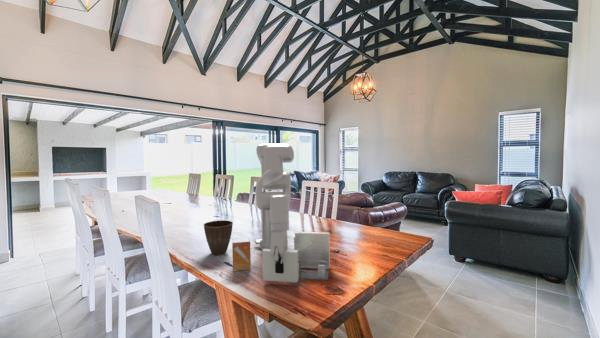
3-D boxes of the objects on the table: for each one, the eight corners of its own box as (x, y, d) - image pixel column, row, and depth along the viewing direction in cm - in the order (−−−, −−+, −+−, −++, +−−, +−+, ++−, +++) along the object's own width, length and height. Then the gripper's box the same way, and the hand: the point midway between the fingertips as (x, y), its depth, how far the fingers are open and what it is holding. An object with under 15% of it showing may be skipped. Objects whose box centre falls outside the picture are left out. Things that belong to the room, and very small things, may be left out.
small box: (232, 271, 125) (231, 242, 125) (232, 266, 132) (232, 238, 131) (251, 269, 127) (250, 241, 127) (250, 264, 133) (249, 237, 133)
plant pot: (237, 249, 157) (237, 220, 156) (226, 258, 142) (225, 227, 141) (212, 248, 159) (212, 220, 159) (199, 257, 145) (198, 226, 144)
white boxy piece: (289, 278, 117) (288, 240, 117) (295, 265, 131) (294, 231, 130) (327, 280, 114) (326, 241, 114) (329, 267, 128) (329, 232, 128)
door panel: (262, 280, 112) (262, 250, 112) (264, 277, 115) (264, 248, 114) (297, 282, 110) (296, 252, 109) (298, 279, 112) (297, 250, 112)
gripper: (275, 220, 120) (276, 262, 121) (264, 231, 104) (265, 279, 105) (292, 221, 118) (293, 263, 119) (284, 231, 102) (285, 281, 103)
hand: (280, 270), depth 112 cm, fingers closed on door panel, 2 cm apart
